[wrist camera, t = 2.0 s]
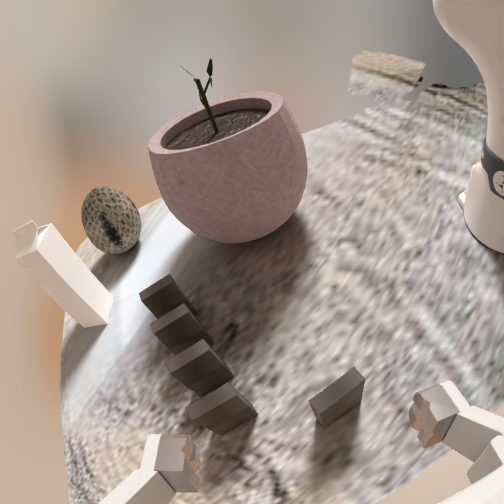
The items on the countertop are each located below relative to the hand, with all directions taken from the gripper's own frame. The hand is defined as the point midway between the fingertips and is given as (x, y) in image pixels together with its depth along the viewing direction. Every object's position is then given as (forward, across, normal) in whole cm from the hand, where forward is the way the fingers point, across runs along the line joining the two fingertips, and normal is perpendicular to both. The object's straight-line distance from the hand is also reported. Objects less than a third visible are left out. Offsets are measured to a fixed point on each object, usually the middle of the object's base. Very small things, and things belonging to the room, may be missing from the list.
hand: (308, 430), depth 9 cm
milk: (+38, +30, +15) cm, 51 cm away
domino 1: (+32, +13, +14) cm, 37 cm away
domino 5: (+14, -6, +18) cm, 24 cm away
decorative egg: (+53, +27, +8) cm, 60 cm away
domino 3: (+22, +8, +18) cm, 29 cm away
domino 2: (+27, +10, +16) cm, 33 cm away
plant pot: (+48, 0, +5) cm, 48 cm away
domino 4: (+16, +6, +20) cm, 26 cm away
